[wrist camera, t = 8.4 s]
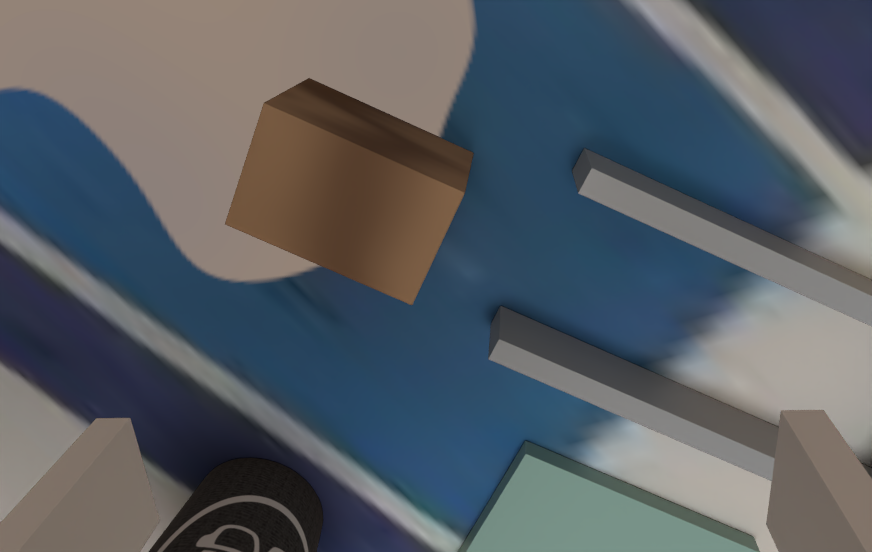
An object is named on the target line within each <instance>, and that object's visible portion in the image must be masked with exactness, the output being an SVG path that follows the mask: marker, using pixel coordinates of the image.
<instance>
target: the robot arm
mask: <svg viewBox="0 0 872 552" xmlns="http://www.w3.org/2000/svg"><path fill="white" fill-rule="evenodd" d="M159 521H160V519H159V515H158V512H157V509H156V505H155V502H154V498H153V495H152V491H151V488H150V484H149V481H148V478H147V474H146V471H145V467H144V464H143V460H142V457H141V453H140V450H139V446H138V443H137V440H136V436H135V433H134V429H133V426H132V422H131V419H130V418H96V419H95V420H94V421H93V423H92V424H91V425H90V426H89V427H88V428H87V429H86V430H85V431H84V432H83V434H82V435H81V436H80V437H79V438H78V439H77V440H76V441H75V442H74V443H73V444H72V446H71V447H70V448H69V449H68V450H67V451H66V452H65V453H64V454H63V455H62V456H61V458H60V459H59V460H58V461H57V462H56V463H55V464H54V465H53V466H52V467H51V468H50V470H49V471H48V472H47V473H46V474H45V475H44V476H43V477H42V478H41V479H40V481H39V482H38V483H37V484H36V485H35V486H34V487H33V488H32V489H31V490H30V491H29V493H28V494H27V495H26V496H25V497H24V498H23V499H22V500H21V501H20V502H19V503H18V505H17V506H16V507H15V508H14V509H13V510H12V511H11V512H10V513H9V514H8V515H7V517H6V518H5V519H4V520H3V521H2V522H1V523H0V552H140V551H141V549H142V548H143V546H144V545H145V543H146V541H147V540H148V538H149V537H150V535H151V534H152V532H153V530H154V529H155V527H156V526H157V524H158V523H159ZM766 525H767V527H768V529H769V531H770V534H771V536H772V538H773V540H774V542H775V544H776V547H777V549H778V551H779V552H872V478H871V477H870V476H869V474H868V473H867V471H866V470H865V469H864V467H863V466H862V464H861V463H860V461H859V460H858V459H857V457H856V456H855V454H854V453H853V451H852V450H851V449H850V447H849V446H848V444H847V443H846V441H845V440H844V439H843V437H842V436H841V434H840V433H839V431H838V430H837V429H836V427H835V426H834V424H833V423H832V421H831V420H830V419H829V417H828V416H827V414H826V413H825V412H824V410H786V411H781V414H780V421H779V429H778V437H777V445H776V452H775V460H774V468H773V476H772V484H771V491H770V499H769V507H768V515H767V522H766Z"/></svg>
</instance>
